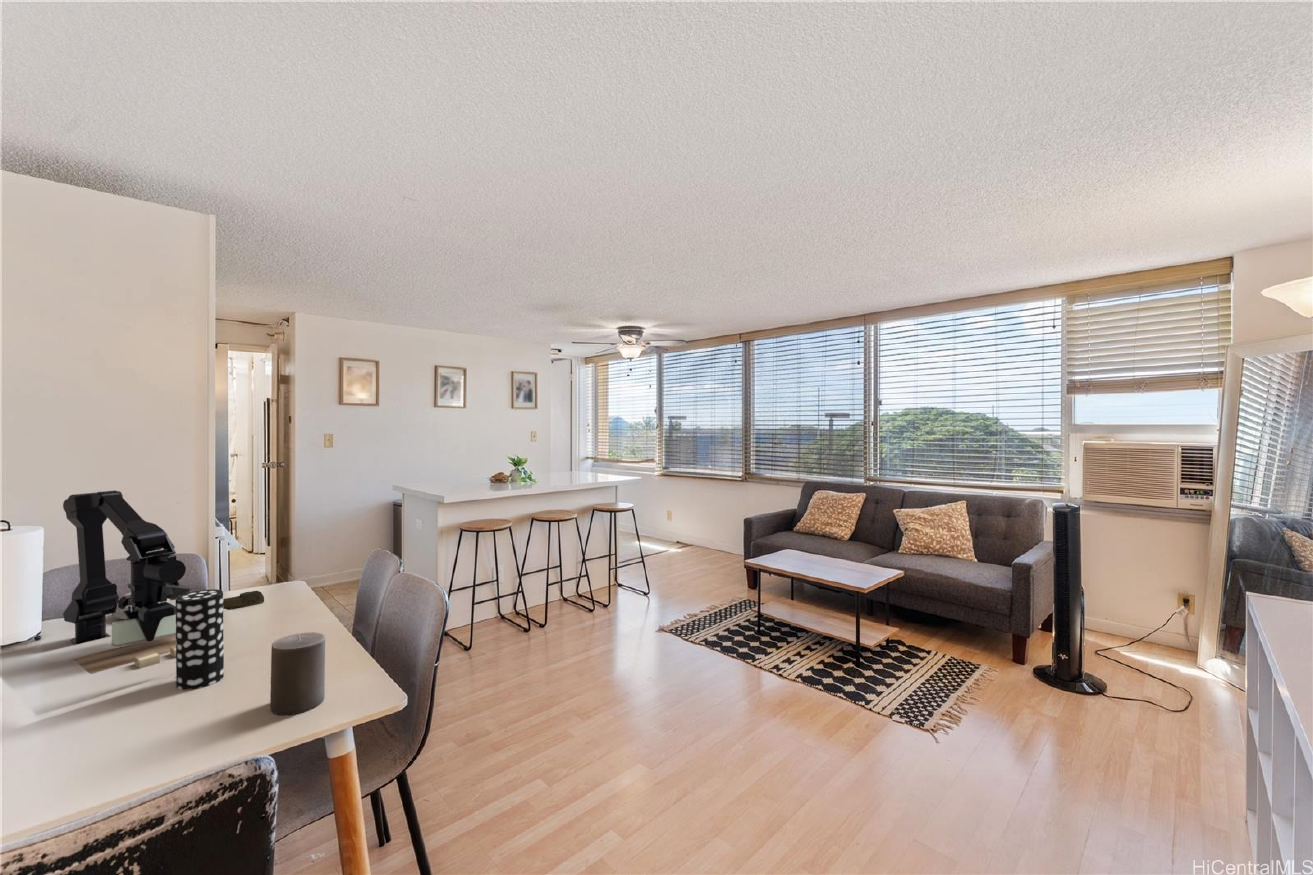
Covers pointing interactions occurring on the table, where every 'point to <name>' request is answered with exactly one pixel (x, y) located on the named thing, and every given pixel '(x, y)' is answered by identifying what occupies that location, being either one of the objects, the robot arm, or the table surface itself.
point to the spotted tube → (199, 639)
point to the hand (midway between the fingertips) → (147, 639)
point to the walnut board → (124, 654)
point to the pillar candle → (297, 673)
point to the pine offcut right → (173, 651)
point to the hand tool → (244, 600)
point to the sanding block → (132, 633)
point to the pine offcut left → (147, 660)
